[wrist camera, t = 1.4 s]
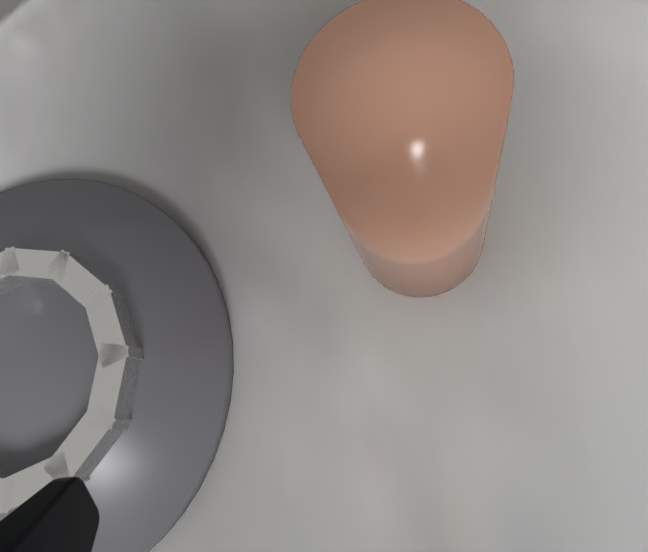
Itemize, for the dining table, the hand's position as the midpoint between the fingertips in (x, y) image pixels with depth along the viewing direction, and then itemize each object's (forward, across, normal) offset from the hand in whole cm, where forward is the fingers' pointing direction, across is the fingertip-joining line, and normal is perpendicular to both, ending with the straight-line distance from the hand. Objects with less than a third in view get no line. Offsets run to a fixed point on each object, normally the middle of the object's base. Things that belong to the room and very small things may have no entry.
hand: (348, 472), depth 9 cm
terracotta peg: (+15, -2, +3) cm, 16 cm away
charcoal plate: (+13, +16, +6) cm, 21 cm away
